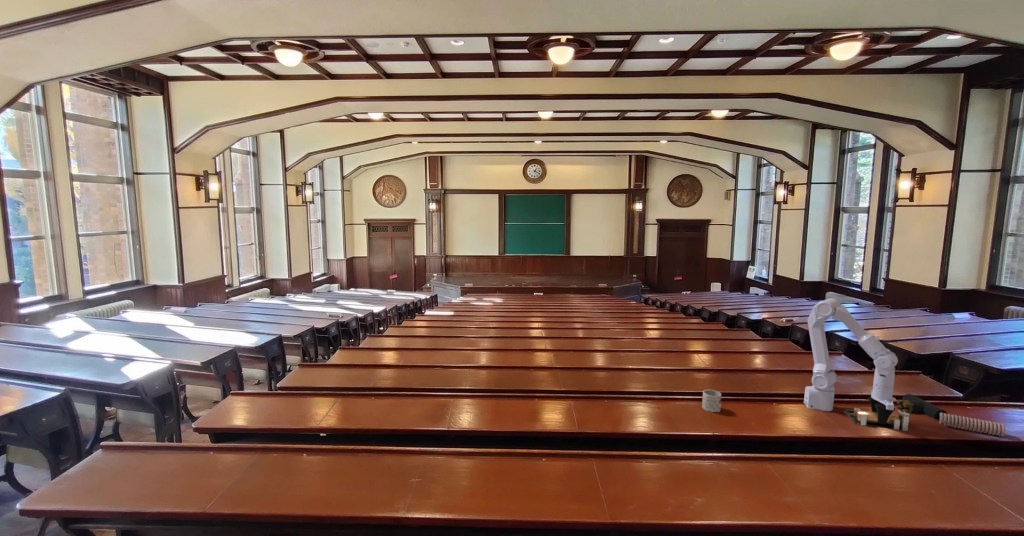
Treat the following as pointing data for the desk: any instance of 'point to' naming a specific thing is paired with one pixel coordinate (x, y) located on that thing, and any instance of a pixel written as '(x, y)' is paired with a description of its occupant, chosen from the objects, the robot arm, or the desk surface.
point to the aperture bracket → (904, 420)
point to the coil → (972, 424)
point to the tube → (873, 417)
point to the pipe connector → (918, 406)
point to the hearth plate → (851, 413)
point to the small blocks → (863, 418)
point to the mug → (711, 400)
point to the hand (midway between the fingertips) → (879, 420)
